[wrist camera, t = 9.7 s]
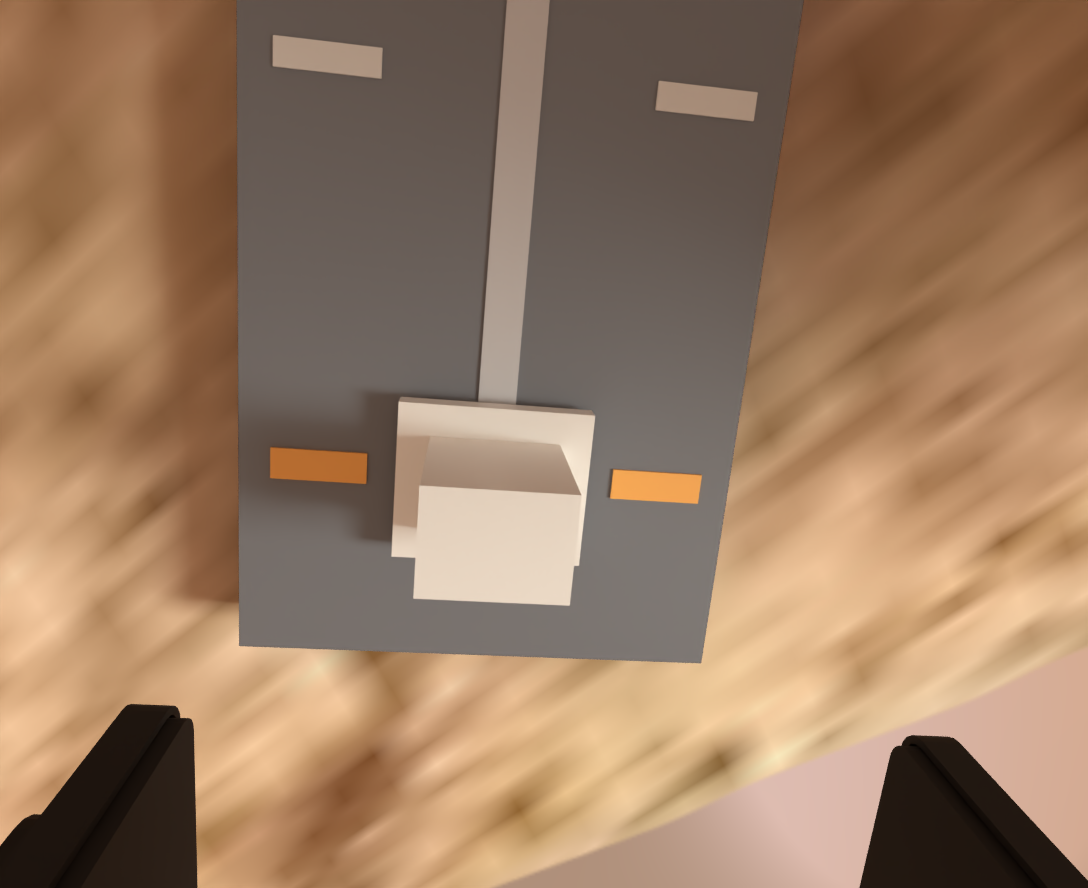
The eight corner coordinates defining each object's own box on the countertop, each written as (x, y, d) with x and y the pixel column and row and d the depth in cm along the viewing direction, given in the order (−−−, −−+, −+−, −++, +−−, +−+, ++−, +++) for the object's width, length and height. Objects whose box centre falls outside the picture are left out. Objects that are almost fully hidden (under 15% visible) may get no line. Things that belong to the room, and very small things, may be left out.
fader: (591, 410, 25) (625, 458, 19) (575, 556, 26) (603, 642, 21) (400, 396, 24) (379, 443, 19) (393, 547, 26) (371, 633, 20)
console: (784, -93, 25) (826, -139, 22) (679, 624, 31) (702, 664, 28) (265, -168, 23) (234, -229, 20) (262, 606, 29) (238, 647, 26)
